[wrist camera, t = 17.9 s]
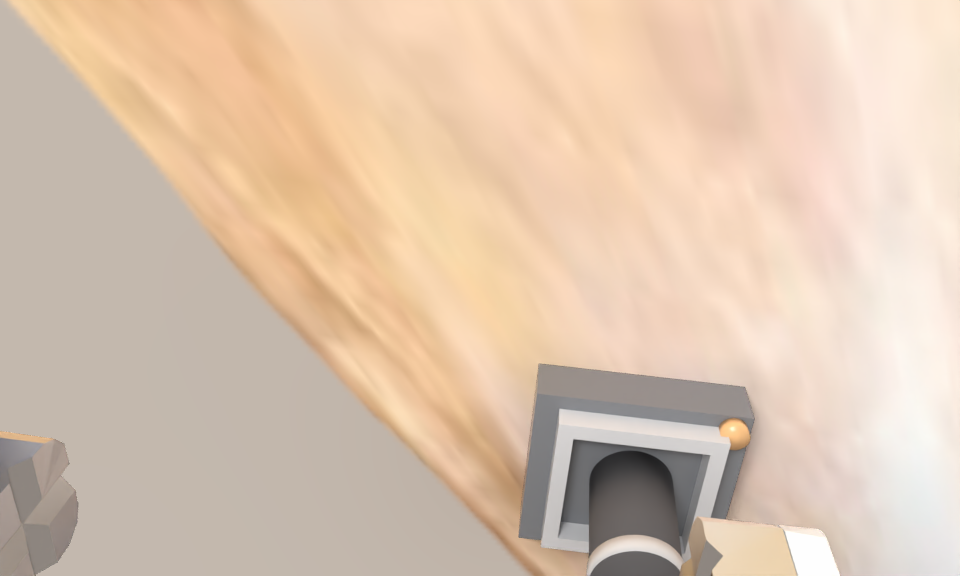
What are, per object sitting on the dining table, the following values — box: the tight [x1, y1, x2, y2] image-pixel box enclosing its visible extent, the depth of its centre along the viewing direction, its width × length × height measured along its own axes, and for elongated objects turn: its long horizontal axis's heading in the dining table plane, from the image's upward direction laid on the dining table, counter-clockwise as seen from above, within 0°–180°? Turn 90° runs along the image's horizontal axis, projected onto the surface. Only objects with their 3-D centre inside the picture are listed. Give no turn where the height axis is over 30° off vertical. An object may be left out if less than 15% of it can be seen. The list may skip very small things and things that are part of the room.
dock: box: [519, 364, 755, 563], centre depth 49 cm, size 12×11×4 cm
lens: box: [587, 451, 684, 576], centre depth 44 cm, size 5×5×10 cm
